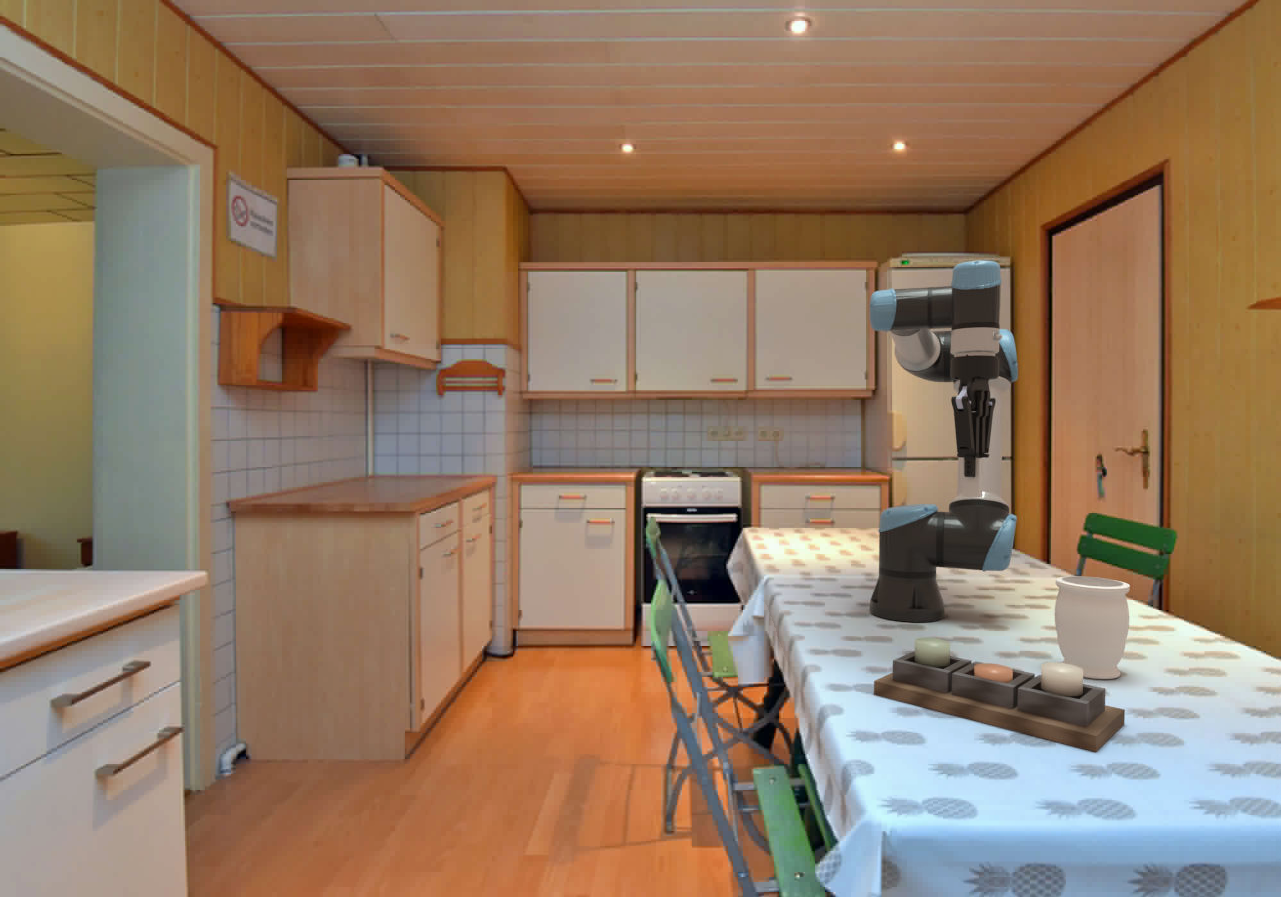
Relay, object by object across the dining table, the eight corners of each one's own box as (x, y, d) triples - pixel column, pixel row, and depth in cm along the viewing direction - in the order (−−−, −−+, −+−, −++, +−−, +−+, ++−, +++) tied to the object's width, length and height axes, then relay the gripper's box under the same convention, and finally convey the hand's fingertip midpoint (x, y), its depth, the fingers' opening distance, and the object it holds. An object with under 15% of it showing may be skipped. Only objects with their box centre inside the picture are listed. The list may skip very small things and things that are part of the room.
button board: (873, 694, 120) (874, 661, 120) (913, 674, 130) (913, 644, 129) (1096, 752, 99) (1097, 712, 99) (1124, 724, 109) (1125, 687, 108)
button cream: (1035, 690, 108) (1035, 667, 108) (1048, 681, 112) (1048, 660, 111) (1076, 699, 104) (1076, 676, 104) (1087, 690, 108) (1088, 667, 108)
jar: (1119, 666, 134) (1121, 577, 134) (1135, 685, 125) (1137, 589, 124) (1049, 660, 138) (1050, 573, 137) (1059, 678, 128) (1061, 585, 128)
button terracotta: (968, 689, 114) (968, 668, 114) (982, 681, 118) (982, 661, 118) (1004, 697, 111) (1005, 676, 111) (1017, 689, 114) (1018, 668, 114)
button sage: (908, 661, 121) (909, 642, 120) (923, 655, 124) (923, 635, 124) (941, 669, 117) (941, 648, 117) (955, 661, 121) (955, 642, 121)
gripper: (982, 351, 127) (979, 500, 127) (1012, 356, 136) (1010, 495, 137) (935, 354, 132) (933, 497, 133) (968, 359, 141) (966, 492, 142)
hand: (972, 496), depth 135 cm, fingers closed
